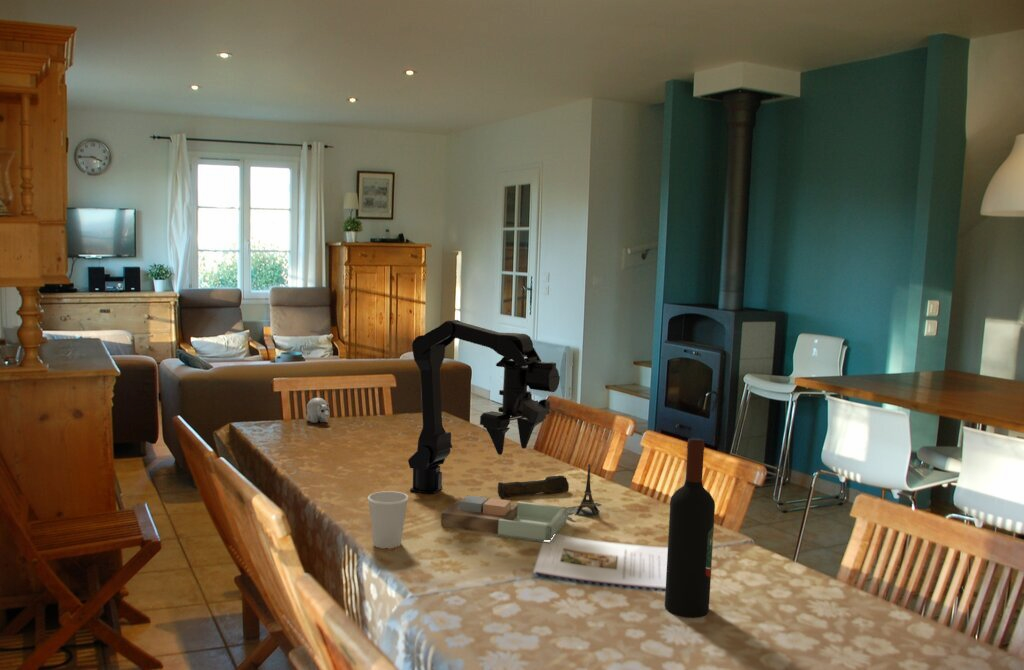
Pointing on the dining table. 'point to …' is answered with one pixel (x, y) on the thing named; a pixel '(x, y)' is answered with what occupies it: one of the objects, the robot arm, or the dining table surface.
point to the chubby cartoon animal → (317, 410)
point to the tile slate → (472, 503)
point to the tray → (533, 522)
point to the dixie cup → (387, 517)
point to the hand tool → (534, 487)
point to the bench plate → (474, 518)
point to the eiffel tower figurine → (584, 503)
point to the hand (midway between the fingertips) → (512, 451)
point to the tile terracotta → (497, 506)
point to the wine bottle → (690, 541)
